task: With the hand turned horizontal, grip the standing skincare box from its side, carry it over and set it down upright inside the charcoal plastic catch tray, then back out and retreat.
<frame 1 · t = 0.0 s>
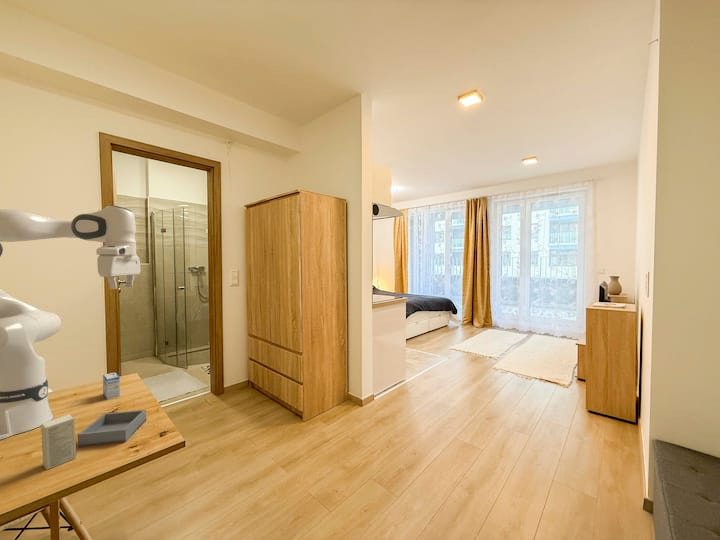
hand: (121, 287, 108), 48 cm above the table, tool pointing down, fingers open, 8 cm apart
skincare box: (59, 462, 84), on the table
catch tray: (114, 432, 98), on the table
medicine box: (111, 395, 126), on the table
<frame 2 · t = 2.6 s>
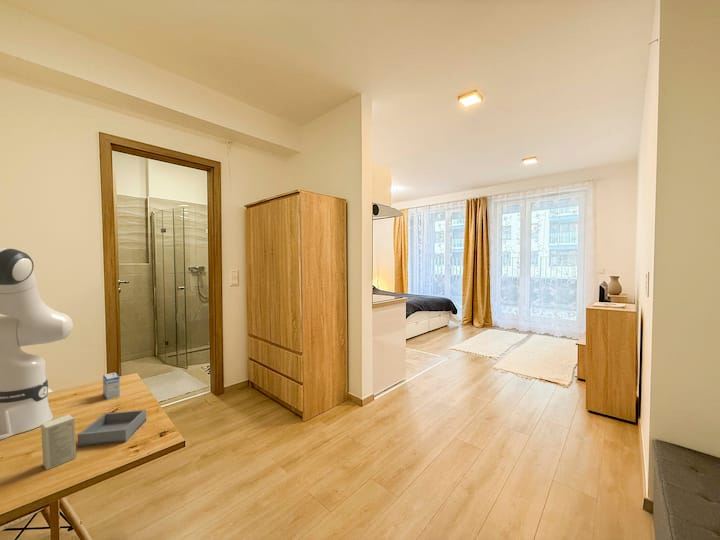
nothing on the table moved.
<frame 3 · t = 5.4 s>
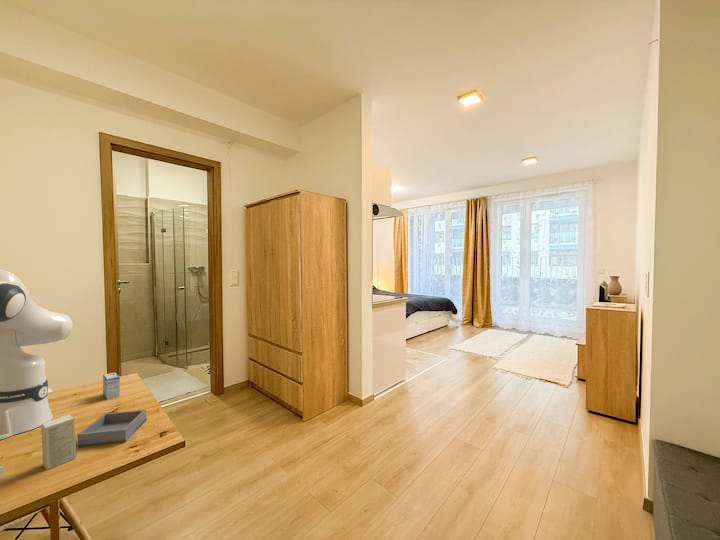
nothing on the table moved.
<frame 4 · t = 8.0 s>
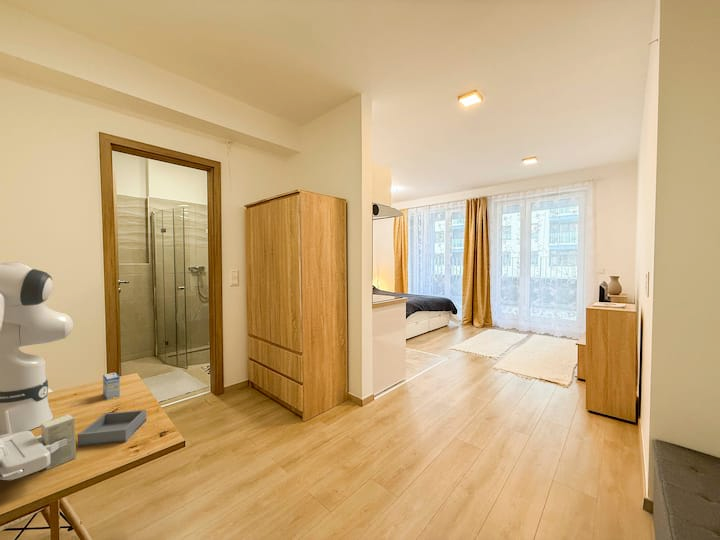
hand: (63, 437, 85), 7 cm above the table, tool horizontal, fingers closed on skincare box, 4 cm apart
skincare box: (59, 462, 84), on the table, touching gripper
everything else where it was.
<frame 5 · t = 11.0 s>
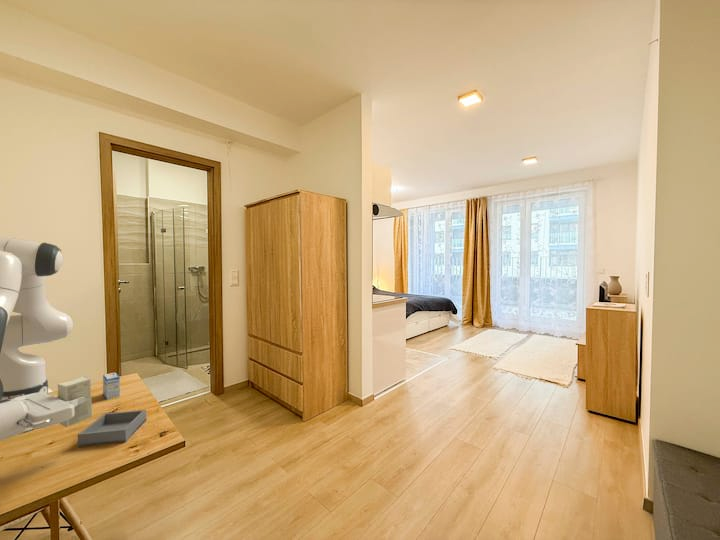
hand: (79, 396, 88), 17 cm above the table, tool horizontal, fingers closed on skincare box, 4 cm apart
skincare box: (75, 421, 87), point 10 cm above the table, touching gripper
everything else where it was.
when the fingers open (9 cm above the table, at t = 14.2 s): skincare box drops 1 cm, resting on catch tray.
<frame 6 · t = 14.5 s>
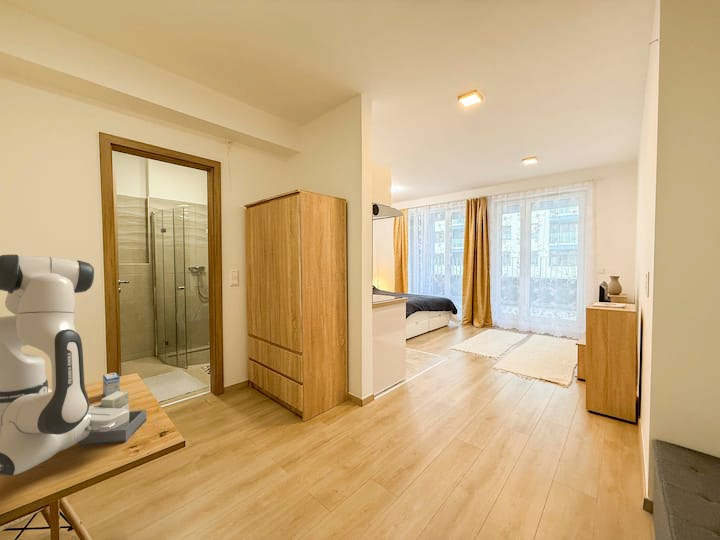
hand: (116, 405, 99), 9 cm above the table, tool horizontal, fingers open, 7 cm apart
skincare box: (115, 431, 98), point 1 cm above the table, touching catch tray
everything else where it was.
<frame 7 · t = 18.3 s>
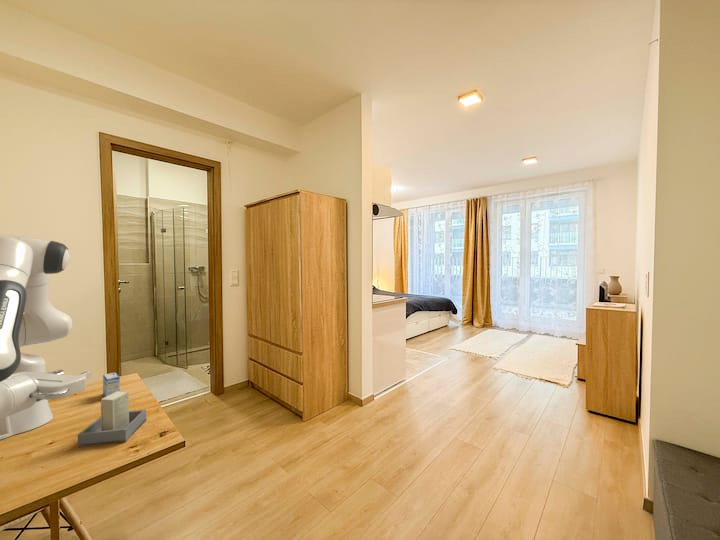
hand: (75, 373, 86), 25 cm above the table, tool horizontal, fingers open, 8 cm apart
nothing on the table moved.
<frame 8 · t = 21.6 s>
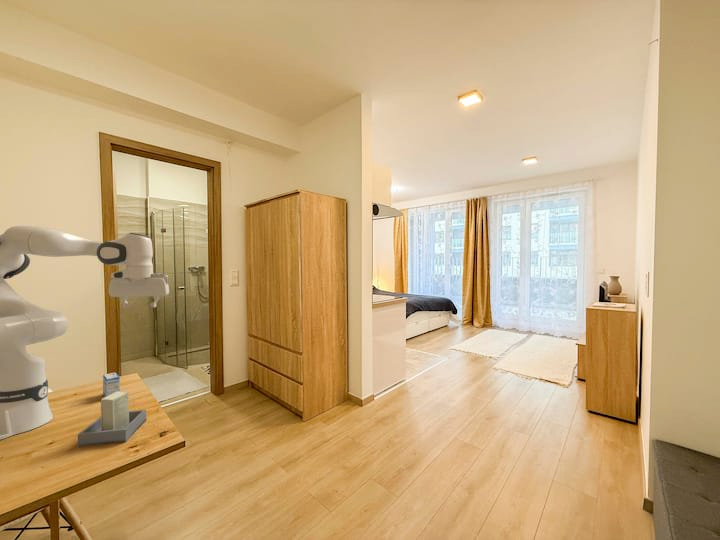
hand: (140, 307, 118), 39 cm above the table, tool pointing down, fingers open, 8 cm apart
nothing on the table moved.
at the end: skincare box inside the target area on the catch tray (0.4 cm from its centre), point 0.6 cm above the catch tray's base; skincare box tilted 0°; the gripper is holding nothing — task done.
